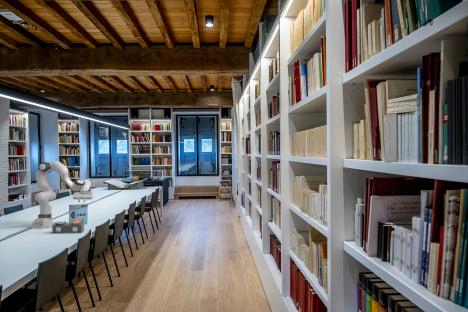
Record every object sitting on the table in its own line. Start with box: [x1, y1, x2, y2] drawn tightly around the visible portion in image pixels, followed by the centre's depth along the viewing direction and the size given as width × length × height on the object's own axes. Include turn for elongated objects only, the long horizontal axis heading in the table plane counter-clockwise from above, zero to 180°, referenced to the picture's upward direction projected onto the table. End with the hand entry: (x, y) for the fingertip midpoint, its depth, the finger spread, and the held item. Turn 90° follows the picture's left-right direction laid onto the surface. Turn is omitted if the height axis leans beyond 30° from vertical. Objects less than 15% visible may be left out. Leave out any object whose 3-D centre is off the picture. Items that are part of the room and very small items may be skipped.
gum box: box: [68, 203, 89, 225], centre depth 394 cm, size 20×5×23 cm, turn 123°
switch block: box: [51, 221, 85, 234], centre depth 353 cm, size 28×10×10 cm, turn 98°
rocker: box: [73, 220, 81, 225], centre depth 354 cm, size 7×6×2 cm
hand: (81, 201), depth 369 cm, fingers open, 4 cm apart
